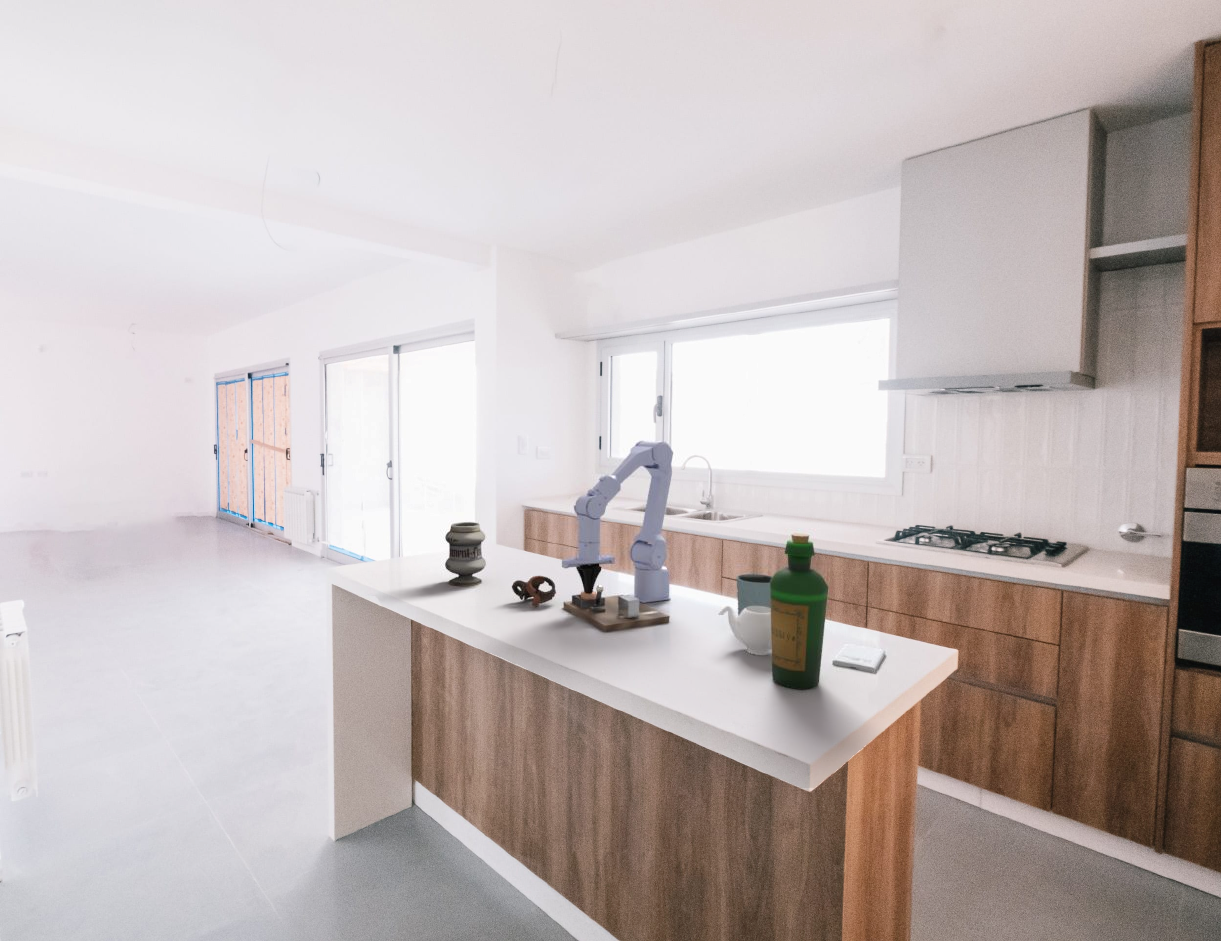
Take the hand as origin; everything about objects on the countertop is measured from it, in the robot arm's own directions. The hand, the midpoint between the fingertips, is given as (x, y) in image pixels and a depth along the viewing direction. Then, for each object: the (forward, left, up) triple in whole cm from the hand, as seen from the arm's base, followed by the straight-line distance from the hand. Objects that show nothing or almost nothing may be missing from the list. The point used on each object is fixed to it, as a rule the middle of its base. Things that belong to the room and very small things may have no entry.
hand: (588, 593), depth 170 cm
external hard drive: (-34, +58, -5) cm, 67 cm away
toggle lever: (+1, +7, -1) cm, 7 cm away
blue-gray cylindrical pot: (-30, +31, -5) cm, 43 cm away
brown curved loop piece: (+10, -13, -5) cm, 17 cm away
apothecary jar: (+20, -43, -5) cm, 48 cm away
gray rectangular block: (-4, +14, -3) cm, 15 cm away
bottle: (-13, +61, -5) cm, 63 cm away
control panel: (-4, +7, -4) cm, 9 cm away
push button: (0, 0, -2) cm, 2 cm away
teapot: (-18, +45, -5) cm, 49 cm away
